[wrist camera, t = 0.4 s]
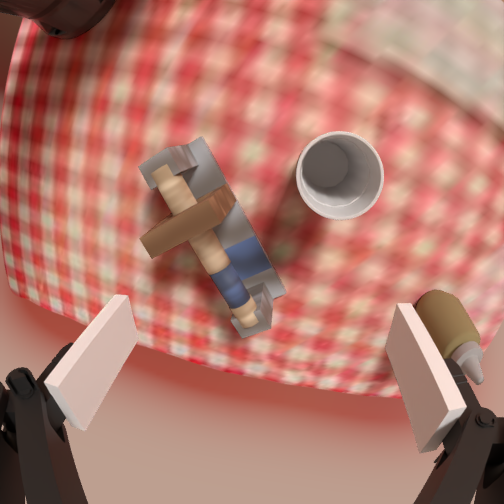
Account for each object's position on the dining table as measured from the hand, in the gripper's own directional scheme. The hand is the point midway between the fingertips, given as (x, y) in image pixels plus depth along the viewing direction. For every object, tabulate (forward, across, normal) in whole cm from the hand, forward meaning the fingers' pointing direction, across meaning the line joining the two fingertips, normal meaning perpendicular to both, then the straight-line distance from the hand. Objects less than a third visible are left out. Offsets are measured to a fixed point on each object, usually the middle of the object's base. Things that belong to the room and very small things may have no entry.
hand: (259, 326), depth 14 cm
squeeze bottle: (+26, +26, -16) cm, 40 cm away
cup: (+27, +6, +4) cm, 28 cm away
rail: (+27, -7, -4) cm, 28 cm away
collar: (+25, -9, -1) cm, 27 cm away
